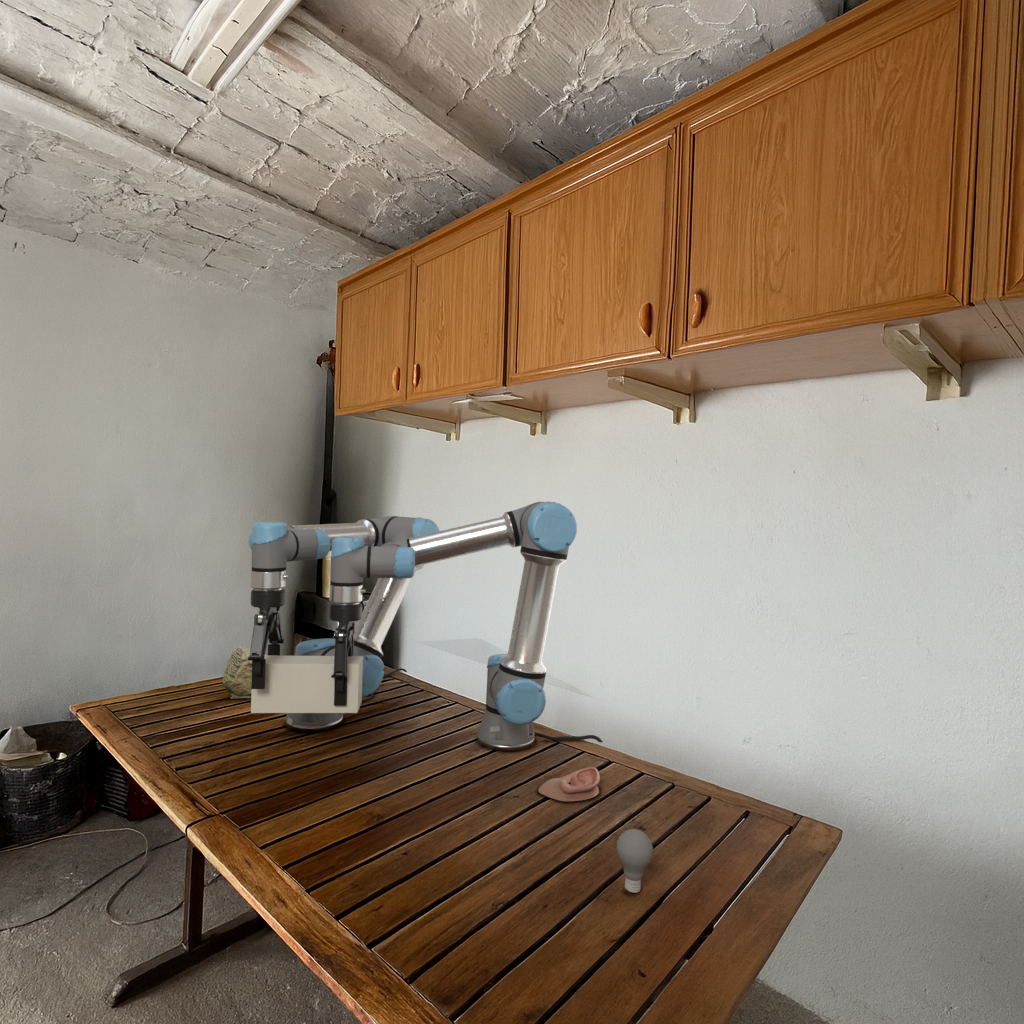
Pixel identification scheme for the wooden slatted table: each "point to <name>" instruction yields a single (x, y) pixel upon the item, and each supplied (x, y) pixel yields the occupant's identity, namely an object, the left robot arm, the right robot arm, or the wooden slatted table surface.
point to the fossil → (239, 674)
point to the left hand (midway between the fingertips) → (266, 679)
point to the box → (306, 685)
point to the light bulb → (634, 857)
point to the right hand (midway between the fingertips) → (342, 699)
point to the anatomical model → (573, 786)
